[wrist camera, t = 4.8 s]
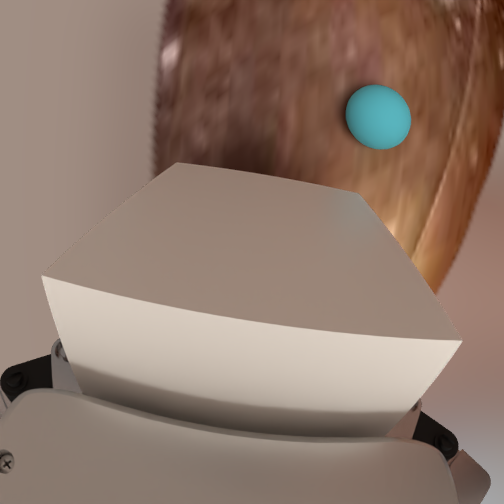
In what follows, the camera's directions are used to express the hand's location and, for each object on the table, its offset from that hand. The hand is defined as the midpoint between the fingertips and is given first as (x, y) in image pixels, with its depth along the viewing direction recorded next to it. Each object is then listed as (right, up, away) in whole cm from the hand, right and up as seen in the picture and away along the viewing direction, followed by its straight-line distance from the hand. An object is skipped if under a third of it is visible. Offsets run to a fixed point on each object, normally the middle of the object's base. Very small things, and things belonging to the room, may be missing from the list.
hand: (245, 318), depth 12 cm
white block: (0, +1, +3) cm, 3 cm away
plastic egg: (+10, +13, +8) cm, 17 cm away
